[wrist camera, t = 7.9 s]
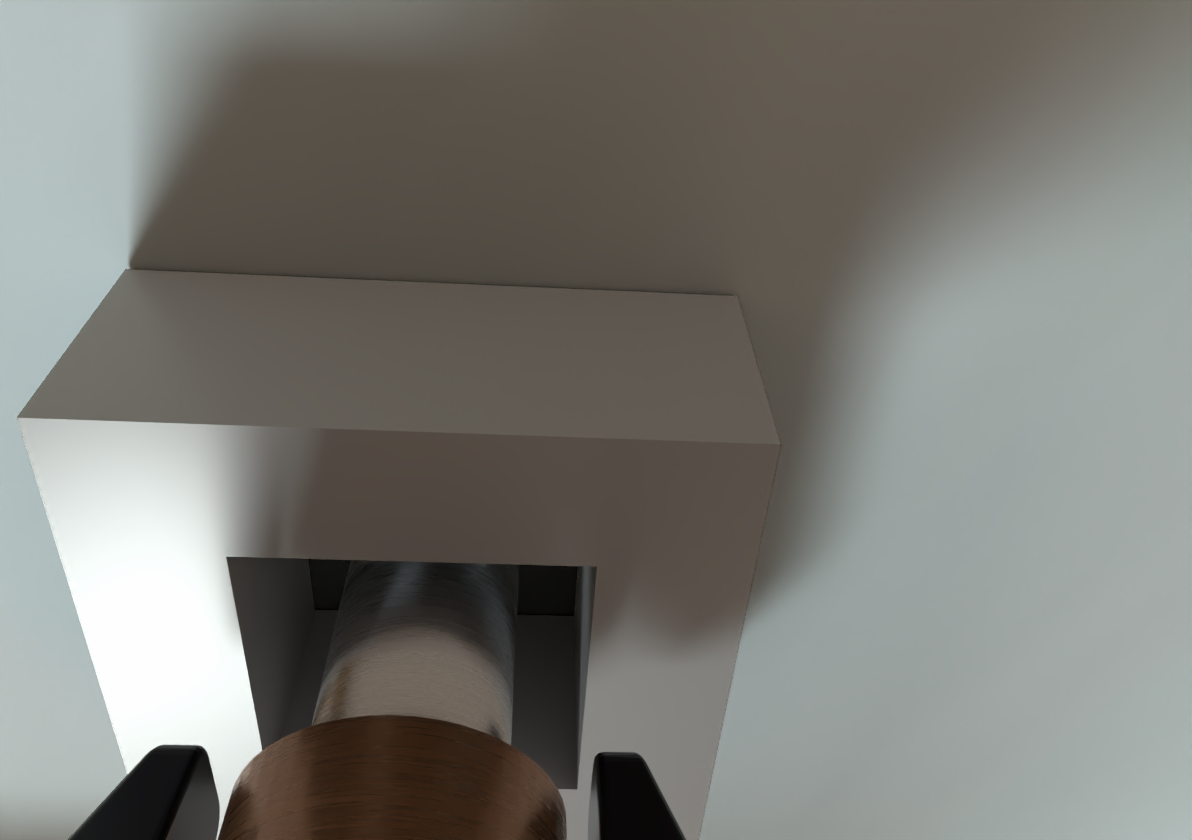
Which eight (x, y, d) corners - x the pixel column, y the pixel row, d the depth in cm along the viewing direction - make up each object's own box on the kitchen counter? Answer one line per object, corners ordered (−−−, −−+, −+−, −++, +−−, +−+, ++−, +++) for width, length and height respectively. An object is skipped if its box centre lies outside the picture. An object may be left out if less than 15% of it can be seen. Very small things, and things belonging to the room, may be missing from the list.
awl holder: (673, 692, 14) (693, 866, 12) (215, 683, 14) (154, 861, 12) (737, 296, 10) (781, 444, 8) (125, 269, 10) (15, 417, 8)
